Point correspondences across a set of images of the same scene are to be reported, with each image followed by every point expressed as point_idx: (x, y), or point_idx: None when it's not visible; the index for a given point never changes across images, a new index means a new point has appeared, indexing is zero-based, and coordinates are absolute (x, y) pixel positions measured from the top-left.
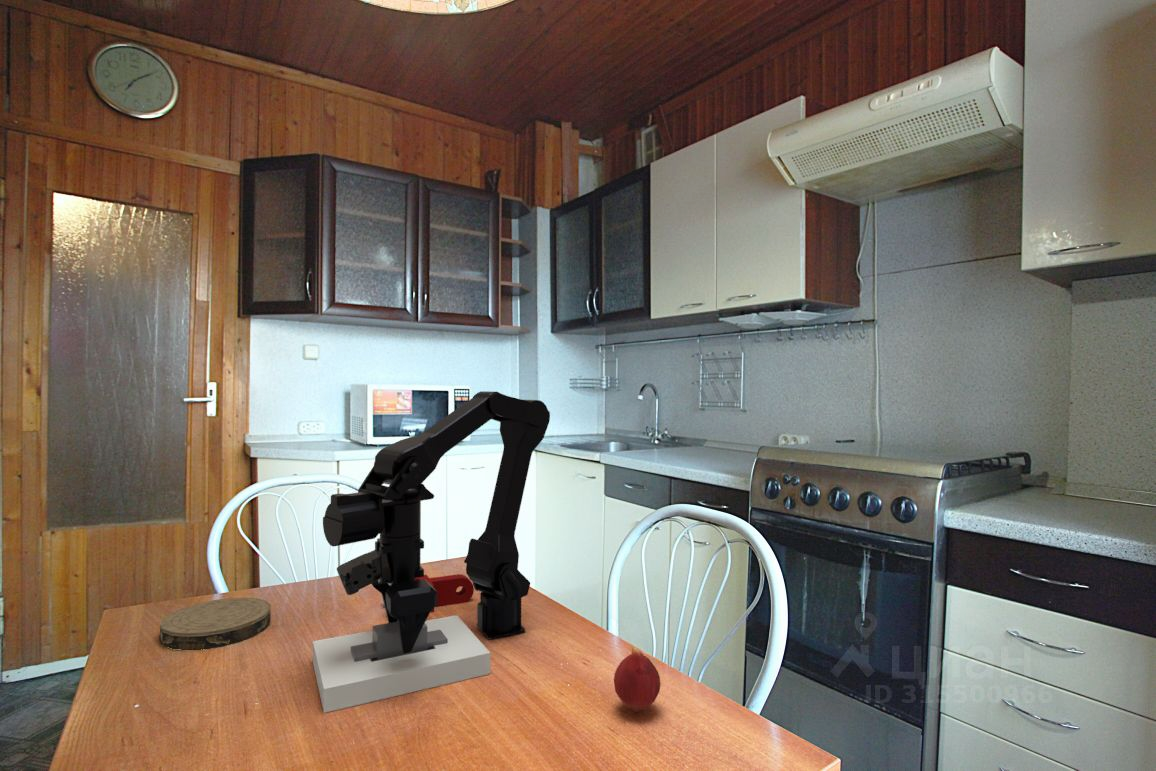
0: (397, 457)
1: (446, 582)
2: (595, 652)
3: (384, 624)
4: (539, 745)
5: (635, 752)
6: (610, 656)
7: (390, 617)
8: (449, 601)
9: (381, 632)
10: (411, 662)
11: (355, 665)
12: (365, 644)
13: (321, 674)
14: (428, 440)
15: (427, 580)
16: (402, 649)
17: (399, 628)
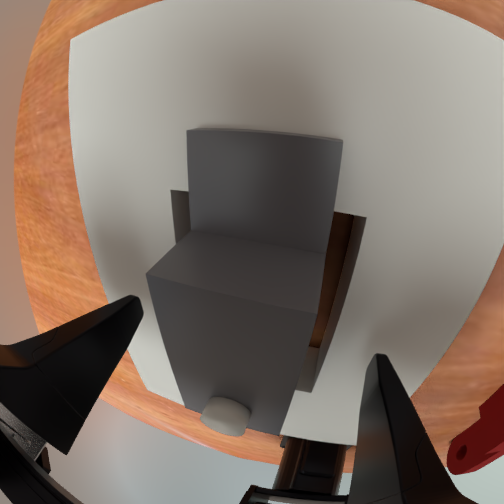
0: None
1: (480, 458)
2: (187, 430)
3: (292, 359)
4: (37, 293)
5: (42, 328)
6: (173, 427)
7: (377, 397)
8: (473, 429)
9: (181, 306)
10: (131, 288)
11: (164, 126)
12: (319, 217)
13: (152, 6)
14: None
15: None
16: (129, 300)
17: (48, 336)
